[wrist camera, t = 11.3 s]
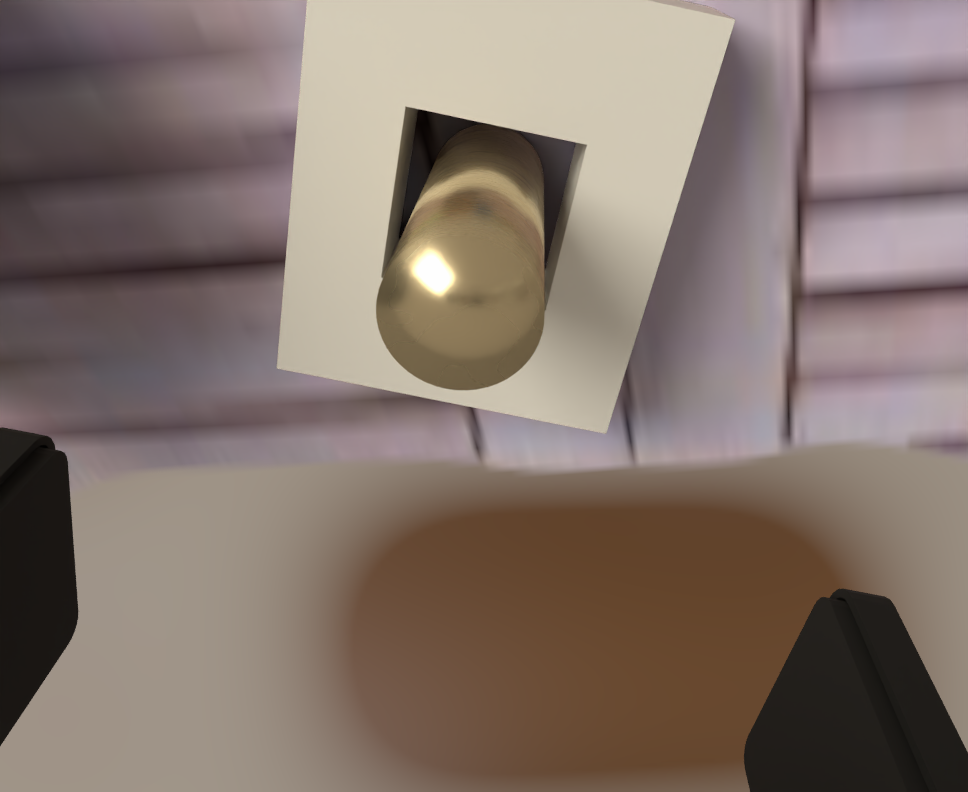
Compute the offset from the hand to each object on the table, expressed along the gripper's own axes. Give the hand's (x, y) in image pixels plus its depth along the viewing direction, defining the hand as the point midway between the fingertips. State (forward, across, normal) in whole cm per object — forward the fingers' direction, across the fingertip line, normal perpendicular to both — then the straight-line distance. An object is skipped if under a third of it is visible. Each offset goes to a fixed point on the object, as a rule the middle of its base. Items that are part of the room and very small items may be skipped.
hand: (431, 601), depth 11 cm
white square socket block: (+22, +1, +1) cm, 23 cm away
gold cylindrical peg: (+22, +1, +1) cm, 23 cm away
